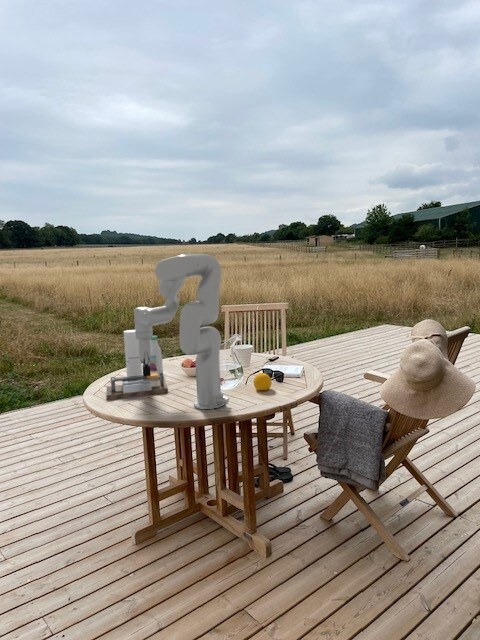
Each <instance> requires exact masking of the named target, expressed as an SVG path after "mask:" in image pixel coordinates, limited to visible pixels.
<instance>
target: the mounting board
mask: <svg viewBox="0 0 480 640" xmlns="http://www.w3.org/2000/svg"><path fill="white" fill-rule="evenodd" d="M151 388H152V390H148V391H140V392H131V393H123V384H119V385H118V384H117V385H116V384H115V390H116V392H112V388H111V385H109V386H106V401H107V400H108V401H110V400H117V399H127V398H135V397H144V396H152V395H158V394H159V395H161V394H167V393H169V387H168V386H167V384H166V382H165V380H164V386H161V384H160V380H154V381H153V380H151Z"/></svg>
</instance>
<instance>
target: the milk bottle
mask: <svg viewBox="0 0 480 640" xmlns="http://www.w3.org/2000/svg"><path fill="white" fill-rule="evenodd" d="M150 341H151V360H150V361H149V366H150V373H158V374H159V371H160V370H162V372H163V373H164V371H163V370H164V369H163V355H162V349H161V347H160V346H159V342H158V335H153V338H151V339H150ZM159 377H160V375H159Z"/></svg>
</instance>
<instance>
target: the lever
mask: <svg viewBox="0 0 480 640" xmlns="http://www.w3.org/2000/svg"><path fill="white" fill-rule="evenodd" d="M143 378H150V379H155V378H160V376H159V374H158V373H150V375H145V376H144V375H143V374H142V375H139V376H130V377H127V376H122V377H115V378H112V380H115V382H122V381H124V380H134V379H143Z"/></svg>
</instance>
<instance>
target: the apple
mask: <svg viewBox="0 0 480 640" xmlns="http://www.w3.org/2000/svg"><path fill="white" fill-rule="evenodd" d="M253 387H254V389H256V390H257V391H260V390H265V391H268V390H269V389H270V388H271V387H272V378H271V377H270V375H269V374H267V373H266V372H265V373H264V372H262V373H261V372H260V373H257V374H256V375H255V376H254V378H253ZM267 389H268V390H267Z"/></svg>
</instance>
